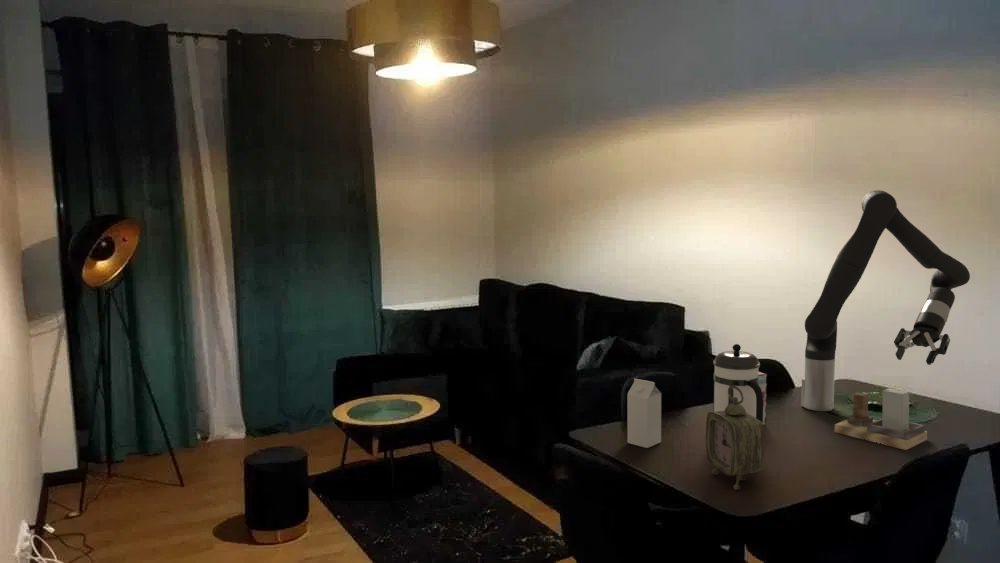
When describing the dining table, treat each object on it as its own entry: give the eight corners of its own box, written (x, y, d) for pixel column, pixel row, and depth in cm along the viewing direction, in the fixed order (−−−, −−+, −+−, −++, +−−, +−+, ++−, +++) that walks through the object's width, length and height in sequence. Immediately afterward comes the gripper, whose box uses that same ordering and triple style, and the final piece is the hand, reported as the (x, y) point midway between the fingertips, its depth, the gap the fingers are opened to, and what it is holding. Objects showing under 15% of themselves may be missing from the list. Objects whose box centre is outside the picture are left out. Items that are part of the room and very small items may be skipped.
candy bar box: (766, 425, 238) (768, 374, 236) (753, 426, 236) (754, 375, 234) (746, 415, 248) (746, 366, 246) (732, 416, 247) (733, 367, 245)
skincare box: (909, 431, 220) (911, 391, 219) (902, 435, 218) (904, 394, 216) (887, 426, 225) (889, 387, 224) (880, 430, 222) (882, 390, 221)
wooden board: (834, 432, 229) (835, 395, 228) (856, 423, 237) (857, 387, 236) (906, 450, 213) (907, 410, 211) (926, 439, 221) (928, 401, 219)
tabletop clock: (705, 473, 199) (706, 380, 196) (736, 469, 201) (737, 378, 198) (734, 494, 185) (735, 395, 182) (767, 490, 187) (769, 392, 184)
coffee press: (699, 449, 217) (700, 346, 214) (718, 433, 230) (719, 337, 227) (761, 460, 207) (763, 353, 204) (777, 443, 220) (779, 342, 217)
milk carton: (641, 437, 229) (641, 376, 226) (661, 442, 224) (661, 380, 221) (627, 443, 224) (627, 380, 221) (647, 448, 219) (647, 384, 216)
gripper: (904, 308, 235) (885, 349, 229) (954, 313, 223) (934, 357, 218) (911, 322, 238) (892, 364, 233) (960, 328, 227) (942, 372, 222)
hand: (913, 360), depth 225 cm, fingers open, 8 cm apart
